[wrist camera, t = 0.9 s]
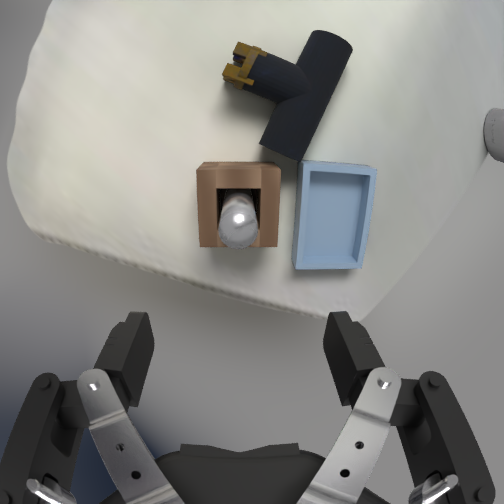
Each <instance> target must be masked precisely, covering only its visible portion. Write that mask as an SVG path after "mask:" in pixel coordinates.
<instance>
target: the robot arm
mask: <svg viewBox="0 0 504 504" xmlns="http://www.w3.org/2000/svg"><path fill="white" fill-rule="evenodd" d="M484 136H485V142H486V146H487V149H488V151H489V153H490V155H491V156H492V157H493V158H494V159H495V160H497V161H500V162H503V163H504V109H497V108H495V109H492V110H491V111H490V112H489V113H488V115H487V117H486V120H485V126H484ZM323 348H324V352H325V355H326V358H327V361H328V364H329V367H330V370H331V373H332V376H333V379H334V382H335V386H336V389H337V392H338V395H339V398H340V401H341V404H342V406H347V405H351V407H352V412H351V414H350V416H349V418H348V419H347V421H346V423H345V425H344V427H343V429H342V431H341V433H340V434H339V436H338V438H337V440H336V442H335V444H334V445H333V447H332V449H331V450H330V452H329V454H328V455H327V457H326V458H324V457H322V456H320V455H318V454H315V453H312V452H309V451H304V450H299V446H298V443H292V444H280V445H268V446H265V447H261V448H257V449H253V450H249V451H245V452H234V451H229V450H225V449H221V448H216V447H212V446H207V445H206V446H205V445H190V444H181V448H180V451H175V452H171V453H168V454H165V455H162V456H160V457H159V458H157V459H154V457H153V456H152V454H151V453H150V451H149V450H148V448H147V446H146V445H145V443H144V442H143V440H142V438H141V437H140V435H139V433H138V432H137V430H136V428H135V426H134V424H133V423H132V421H131V419H130V417H129V415H128V414H127V412H128V408H129V406H133V407H138V404H139V400H140V397H141V393H142V389H143V386H144V382H145V379H146V375H147V372H148V368H149V365H150V361H151V358H152V355H153V351H154V337H153V333H152V329H151V325H150V320H149V316H148V314H147V313H146V312H130V313H129V315H128V317H127V319H126V321H125V322H119V323H118V324H117V325H116V326H115V327H114V328H113V329H112V330H111V332H110V334H109V336H108V339H107V340H106V342H105V345H104V347H103V349H102V351H101V353H100V355H99V357H98V359H97V361H96V363H95V366H94V368H93V369H90V370H87V371H85V372H84V373H82V374H81V375H80V376H79V378H78V380H73V381H62V382H60V380H59V379H58V377H57V376H56V375H55V374H53V373H43V374H41V375H39V376H38V377H37V378H36V379H35V380H34V382H33V383H32V386H31V388H30V390H29V392H28V394H27V396H26V398H25V401H24V403H23V405H22V407H21V410H20V412H19V415H18V417H17V419H16V422H15V424H14V427H13V430H12V432H11V434H10V437H9V440H8V442H7V445H6V448H5V451H4V454H3V457H2V460H1V463H0V504H76V500H75V498H74V496H73V495H72V494H71V493H70V487H71V482H72V477H73V472H74V468H75V463H76V459H77V455H78V450H79V447H80V443H81V439H82V435H83V431H84V428H89V429H90V432H91V434H92V437H93V439H94V441H95V444H96V446H97V448H98V451H99V453H100V455H101V457H102V459H103V461H104V463H105V466H106V468H107V469H108V471H109V473H110V475H111V477H112V479H113V481H114V483H115V485H116V486H117V488H118V489H117V490H116V491H115V492H114V493H112V494H111V495H110V496H108V497H107V498H106V499H104V500H103V501H102V502H100V503H99V504H390V503H388V502H387V501H385V500H384V499H382V498H381V497H379V496H378V495H376V494H375V493H373V492H372V491H370V490H369V489H367V488H366V487H364V486H365V484H366V482H367V480H368V478H369V476H370V474H371V472H372V470H373V468H374V465H375V463H376V461H377V459H378V456H379V454H380V452H381V449H382V447H383V444H384V442H385V439H386V437H387V434H388V431H389V429H390V426H396V427H397V430H398V433H399V437H400V439H401V443H402V446H403V449H404V452H405V455H406V459H407V462H408V465H409V469H410V472H411V476H412V479H413V483H414V487H415V488H414V489H413V491H412V492H411V494H410V496H409V504H493V501H494V499H495V487H494V484H493V482H492V479H491V476H490V473H489V470H488V468H487V466H486V463H485V460H484V458H483V455H482V453H481V450H480V448H479V446H478V443H477V441H476V439H475V437H474V435H473V432H472V430H471V428H470V426H469V423H468V422H467V419H466V417H465V415H464V413H463V411H462V409H461V407H460V405H459V403H458V401H457V399H456V397H455V395H454V393H453V391H452V390H451V388H450V386H449V384H448V382H447V381H446V379H445V378H444V376H442V375H441V374H440V373H437V372H434V371H428V372H425V373H423V374H422V375H421V377H420V378H419V380H413V379H402V378H400V376H399V375H398V374H397V373H396V372H395V371H394V370H392V369H390V368H386V367H385V365H384V363H383V361H382V359H381V357H380V355H379V353H378V351H377V349H376V347H375V346H374V344H373V342H372V340H371V338H370V336H369V334H368V332H367V330H366V329H365V328H364V327H363V326H362V325H361V324H360V323H359V322H357V321H356V322H352V320H351V318H350V316H349V314H348V313H347V312H346V311H341V312H330V313H329V315H328V320H327V325H326V329H325V334H324V338H323Z"/></svg>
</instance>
